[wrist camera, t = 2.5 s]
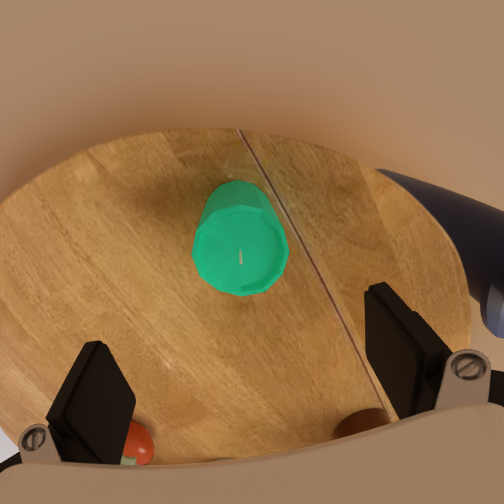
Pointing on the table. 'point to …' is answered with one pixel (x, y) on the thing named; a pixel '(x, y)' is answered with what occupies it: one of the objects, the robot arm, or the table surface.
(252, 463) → the robot arm
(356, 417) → the jar
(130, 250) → the table surface
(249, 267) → the candle
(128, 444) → the tomato
